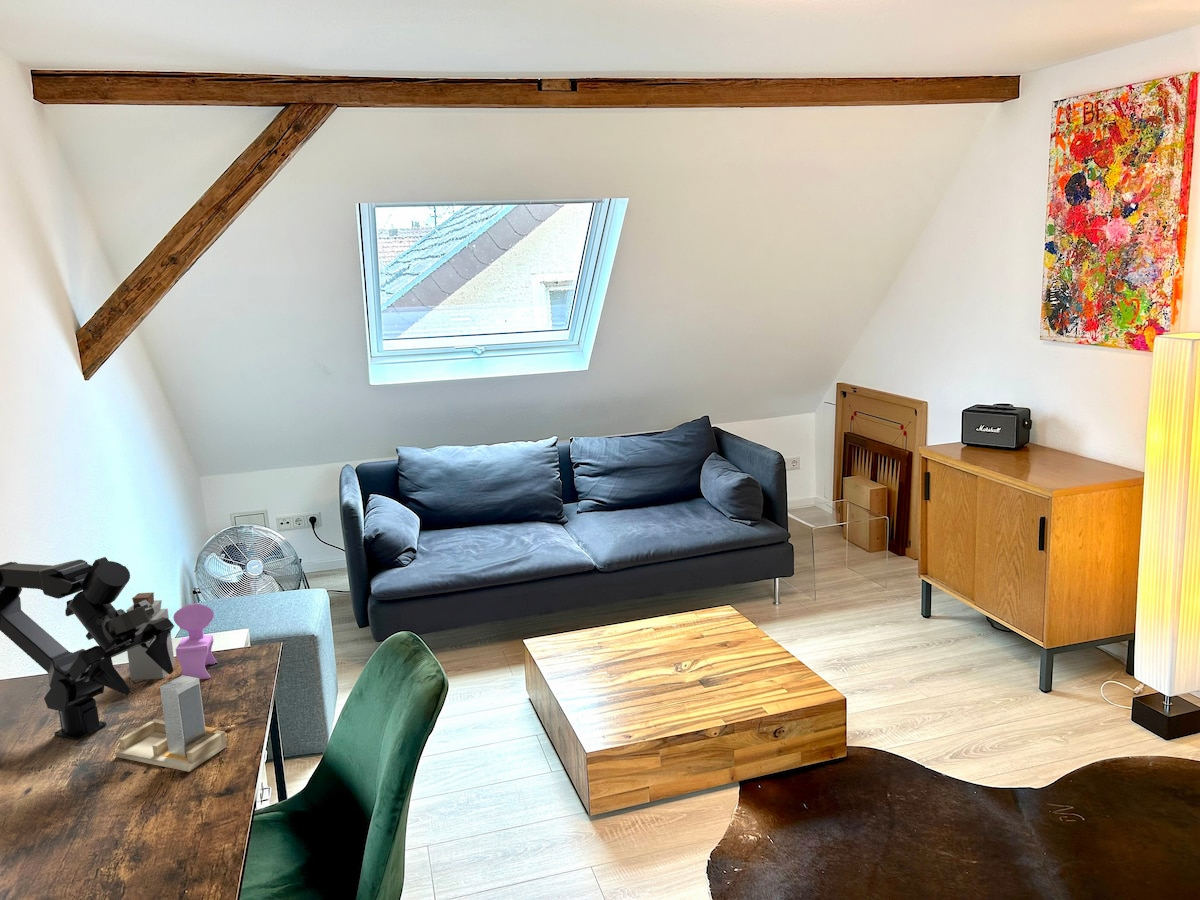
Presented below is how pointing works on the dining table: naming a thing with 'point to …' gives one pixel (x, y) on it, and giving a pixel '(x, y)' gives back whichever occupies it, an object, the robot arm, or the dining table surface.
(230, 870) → the dining table surface
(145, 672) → the perfume bottle
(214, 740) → the cream divided tray
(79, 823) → the dining table surface
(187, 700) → the brushed steel block
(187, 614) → the toy chair
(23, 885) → the dining table surface
